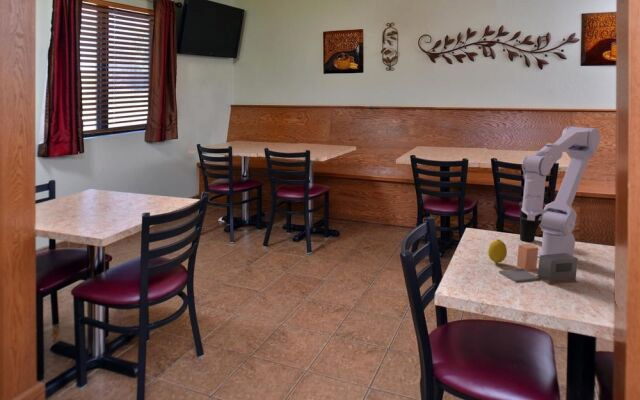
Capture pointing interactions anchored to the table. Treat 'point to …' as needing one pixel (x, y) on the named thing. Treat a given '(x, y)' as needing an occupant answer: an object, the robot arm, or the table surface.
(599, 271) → the table surface
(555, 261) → the parts unit
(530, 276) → the mat
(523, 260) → the terracotta block
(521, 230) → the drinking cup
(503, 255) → the lemon
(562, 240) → the robot arm
